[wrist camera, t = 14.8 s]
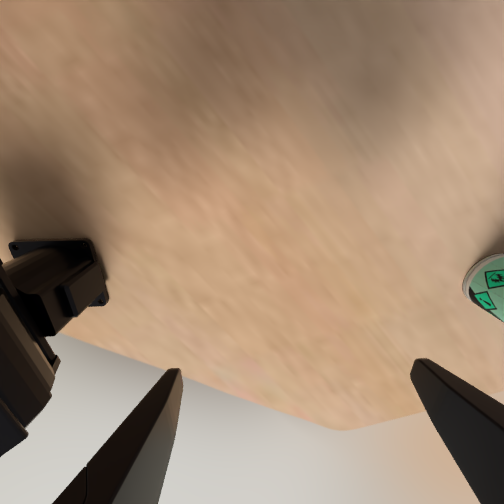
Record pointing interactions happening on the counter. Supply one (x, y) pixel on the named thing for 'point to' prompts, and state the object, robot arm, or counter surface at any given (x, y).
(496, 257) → the spray can
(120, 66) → the counter surface
